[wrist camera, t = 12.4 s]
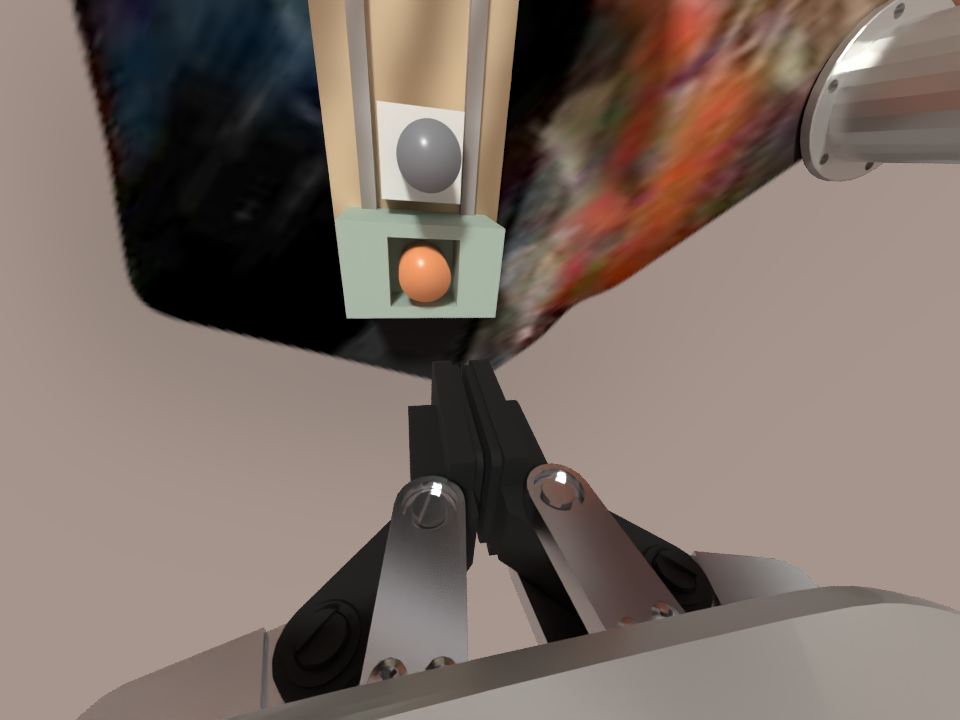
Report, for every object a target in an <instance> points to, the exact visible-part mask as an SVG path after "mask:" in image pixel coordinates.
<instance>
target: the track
mask: <svg viewBox="0 0 960 720" xmlns="http://www.w3.org/2000/svg"><path fill="white" fill-rule="evenodd" d="M308 4H309V12H310V21H311V29H312V37H313V46H314V54H315V62H316V70H317V79H318V87H319V95H320V103H321V112H322V120H323V128H324V136H325V145H326V153H327V161H328V169H329V178H330V186H331V194H332V202H333V211H334V219H336V218H337V217H338V216H339V215H340V214H341V213H342V212H343V211H344V210H345V209H346V208H347V207H348V206H351V207H362V209H374V210H377V208H383V209H399V210H415V211H431V212H447V213H459V214H461V215H472V216H474V214H479V215H486V216H487V217H489V218H490V219H491V220H493V221H494V222H496V223H497V213H498V203H499V193H500V183H501V174H502V164H503V154H504V144H505V134H506V124H507V114H508V104H509V94H510V84H511V74H512V64H513V54H514V45H515V35H516V25H517V15H518V5H519V0H308ZM376 101H384V102H391V103H399V104H407V105H415V106H423V107H431V108H438V109H446V110H454V111H462V112H465V115H464V135H463V156H462V176H461V196H460V204H449V203H435V202H420V201H405V200H390V199H382V193H381V175H380V157H379V139H378V121H377V102H376ZM335 227H336V225H335ZM336 236H337V233H336ZM337 244H338V241H337ZM338 252H339V250H338ZM339 260H340V258H339ZM340 269H341V266H340ZM341 277H342V274H341ZM342 285H343V283H342Z"/></svg>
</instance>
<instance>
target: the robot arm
mask: <svg viewBox="0 0 960 720" xmlns="http://www.w3.org/2000/svg"><path fill="white" fill-rule="evenodd" d="M800 147H801V156H802V159H803V161H804V164H805V166H806V168H807V169H808V170H809V172H810V173H811V174H812V175H814V176H816V177H817V178H819V179H822V180H826V181H846V180H852V179H855V178H858V177H860V176H863V175H865V174H867V173H868V172H870V171H872V170H874V169H876V168H877V167H878V166H880V165H881V164H882V163H884V162H885V163H942V164H943V163H944V164H960V5H959V6H955V4H954V3H953V1H952V0H889V1H888V2H886V3H884V4H883V5H881V6H879V7H878V8H876V9H875V10H873V11H872V12H871V13H870V14H869V15H867V16H866V17H865V18H864V19H862V20H861V21H860V22H859V23H858V24H857V25H856V26H855V27H854V28H853V29H852V31H851V32H850V33H849V34H848V35H847V36H846V37H845V38H844V39H843V41H842V42H841V43H840V45H839V46H838V47H837V49H836V50H835V51H834V53H833V54H832V55H831V57H830V58H829V60H828V62H827V63H826V65H825V67H824V68H823V70H822V72H821V73H820V75H819V77H818V79H817V81H816V83H815V85H814V87H813V90H812V92H811V94H810V97H809V100H808V103H807V105H806V108H805V112H804V116H803V121H802V125H801V135H800ZM431 400H432V401H431V402H432V403H431V405H422V406H408V415H409V448H410V478H411V482H409V483H408V484H406V485H405V486H404V487H403V488H402V489H401V491H400V492H399V493H398V495H397V498H396V500H395V503H394V507H393V512H392V518H391V520H390V521H389V522H388V523H387V524H386V525H385V526H384V527H383V528H382V529H381V530H380V531H379V532H378V533H377V534H376V535H375V536H374V537H373V538H372V539H371V540H370V541H369V542H368V543H367V544H366V545H365V546H364V547H363V548H362V549H361V550H360V551H359V552H358V553H357V554H356V555H354V556H353V557H352V558H351V559H350V560H349V561H348V562H347V563H346V564H345V565H344V566H343V567H342V568H341V569H340V570H339V571H338V572H337V573H336V574H335V575H334V576H333V577H332V578H331V579H330V580H329V581H328V582H327V583H326V584H325V585H324V586H323V587H322V588H321V589H320V590H319V591H318V592H317V593H316V594H315V595H314V596H313V597H311V599H309V601H307V602H306V604H304V605H303V607H301V608H300V609H299V610H298V611H297V612H296V613H295V615H294V616H293V617H292V618H291V620H290V621H289V622H288V623H287V624H284V625H282V626H279V627H277V628H275V629H272V630H270V631H267V632H266V630H265V628H261V629H258V630H256V631H253V632H251V633H249V634H246V635H244V636H241V637H239V638H236V639H234V640H231V641H229V642H227V643H224V644H222V645H219V646H217V647H214V648H212V649H209V650H207V651H204V652H202V653H199V654H197V655H194V656H192V657H190V658H187V659H185V660H182V661H180V662H177V663H175V664H173V665H170V666H167V667H165V668H163V669H160V670H158V671H155V672H153V673H150V674H148V675H145V676H143V677H140V678H138V679H135V680H133V681H130V682H128V683H126V684H124V685H122V686H120V687H119V688H117V689H115V690H113V691H112V692H109V693H108V694H106V695H104V696H103V697H101V698H100V699H99V700H98V701H97V702H96V703H94V704H93V705H92V706H91V707H90V708H88V709H87V710H86V711H85V712H84V713H83V714H81V715H80V716H79V718H78V719H77V720H960V611H957V610H955V609H952V608H950V607H947V606H944V605H941V604H938V603H935V602H931V601H928V600H925V599H921V598H918V597H913V596H909V595H905V594H901V593H896V592H893V591H886V590H881V589H875V588H868V587H858V586H829V587H819V586H818V585H817V584H816V583H815V582H814V581H813V580H812V579H811V578H810V577H809V576H807V575H806V574H805V573H803V572H802V571H801V570H800V569H798V568H796V567H795V566H793V565H791V564H789V563H787V562H785V561H781V560H776V559H773V558H762V557H752V556H741V555H730V554H720V553H709V552H698V551H694V552H693V554H692V555H691V556H690V555H688V554H687V553H685V552H684V551H682V550H681V549H679V548H677V547H676V546H674V545H672V544H670V543H669V542H667V541H665V540H663V539H661V538H659V537H657V536H655V535H653V534H652V533H650V532H648V531H646V530H644V529H642V528H640V527H639V526H637V525H635V524H633V523H631V522H629V521H627V520H625V519H623V518H622V517H619V516H618V515H616V514H614V513H612V512H610V511H609V510H608V509H607V508H606V507H605V505H604V504H603V503H602V501H601V500H600V499H599V497H598V496H597V495H596V493H595V492H594V491H593V489H592V488H591V487H590V485H589V484H588V483H587V482H586V480H585V479H584V478H583V477H581V475H580V474H578V473H577V472H575V471H574V470H572V469H571V468H568V467H566V466H563V465H558V464H548V463H547V461H546V459H545V457H544V455H543V453H542V451H541V449H540V447H539V445H538V443H537V440H536V438H535V436H534V434H533V432H532V430H531V428H530V426H529V424H528V422H527V420H526V417H525V415H524V413H523V411H522V409H521V407H520V405H519V403H518V402H517V401H516V400H508V401H506V400H505V397H504V395H503V392H502V390H501V388H500V385H499V383H498V381H497V378H496V376H495V374H494V372H493V369H492V367H491V365H490V362H489V360H470V361H469V365H463V367H462V377H461V373H460V370H459V366H458V365H452V362H451V361H432V397H431ZM476 532H477V534H478V539H479V542H480V543H487V548H488V552H489V555H496V554H497V555H498V559H499V560H500V561H502V562H503V563H504V564H506V565H508V566H509V572H510V576H511V579H512V582H513V584H514V586H515V589H516V591H517V594H518V596H519V598H520V601H521V604H522V606H523V608H524V611H525V613H526V616H527V618H528V621H529V623H530V625H531V627H532V630H533V633H534V635H535V638H536V640H537V642H538V646H534V647H529V648H524V649H521V650H516V651H511V652H506V653H502V654H497V655H493V656H489V657H484V658H480V659H475V660H471V661H468V637H467V636H468V634H467V633H468V631H467V577H466V575H467V571H468V569H469V568H470V566H471V565H472V563H473V556H474V547H475V540H476Z"/></svg>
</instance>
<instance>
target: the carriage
mask: <svg viewBox="0 0 960 720" xmlns="http://www.w3.org/2000/svg"><path fill="white" fill-rule="evenodd" d="M376 102H377V121H378V139H379V157H380V175H381V193H382V199H390V200H405V201H420V202H435V203H449V204H460V196H461V176H462V156H463V135H464V115H465V112H462V111H454V110H446V109H438V108H431V107H423V106H415V105H407V104H399V103H391V102H384V101H376Z"/></svg>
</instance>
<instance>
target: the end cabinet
mask: <svg viewBox="0 0 960 720" xmlns="http://www.w3.org/2000/svg"><path fill="white" fill-rule="evenodd" d="M335 225H336V233H337V241H338V250H339V258H340V266H341V274H342V283H343V291H344V299H345V308H346V316H347V318H495V315H496V306H497V298H498V289H499V280H500V271H501V263H502V254H503V245H504V236H505V229H504V228H503V227H502V226H500V225H499V224H497V223H496V222H494V221H493V220H491V219H490V218H489V217H487V216H486V215H479V214H474V216H472V215H461V214H459V213H447V212H431V211H415V210H399V209H383V208H377V210H374V209H362V207H351V206H348V207H347V208H346V209H345V210H344V211H343V212H342V213H341V214H340V215H339V216H338V217H337V218H336V219H335ZM416 241H426V242H430V243H432V244H434V245H435V246H437V247H438V248H439V249H440V251H441V252H442V254H443V256H444V258H445V260H446V262H447V265H448V267H449V269H450V273H451V282H450V285H449V288H448V290H447V291H446V293H445V294H444V295H443V296H442V297H440V298H439V299H437V300H435V301H432V302H419V301H416V300H414V299H412V298H410V297H409V296H408V295H407V294H406V293H405V292H404V291H403V289H402V288H401V285H400V282H399V257H400V255H401V252H402V251H403V249H404V248H405V247H406V246H408V245H409V244H411V243H413V242H416Z"/></svg>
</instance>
